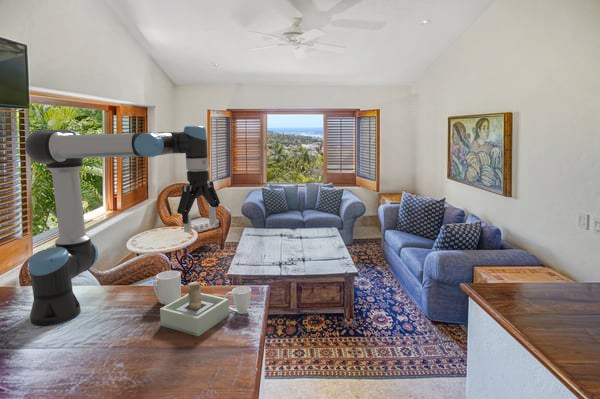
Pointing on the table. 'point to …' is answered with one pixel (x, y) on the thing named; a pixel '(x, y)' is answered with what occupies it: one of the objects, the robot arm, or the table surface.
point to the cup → (241, 299)
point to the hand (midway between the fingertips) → (200, 228)
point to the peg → (194, 296)
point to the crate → (194, 314)
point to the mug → (168, 286)
